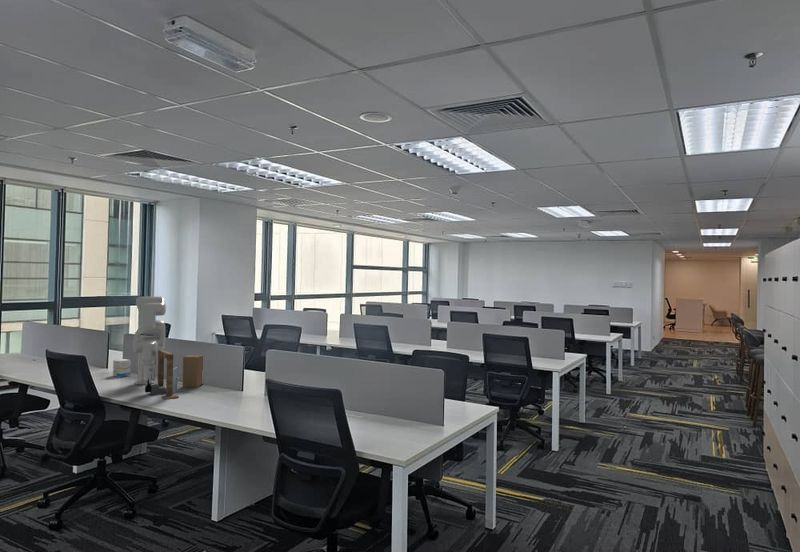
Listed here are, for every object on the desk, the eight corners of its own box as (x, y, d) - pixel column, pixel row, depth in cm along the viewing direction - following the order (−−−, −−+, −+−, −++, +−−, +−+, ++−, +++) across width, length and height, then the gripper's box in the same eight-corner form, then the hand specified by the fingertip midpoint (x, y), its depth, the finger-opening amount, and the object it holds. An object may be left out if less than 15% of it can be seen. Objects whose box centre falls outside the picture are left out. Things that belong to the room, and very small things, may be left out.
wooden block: (203, 384, 364) (204, 355, 364) (196, 387, 354) (197, 357, 354) (189, 384, 365) (190, 354, 365) (182, 386, 355) (182, 356, 355)
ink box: (130, 375, 390) (131, 359, 390) (119, 377, 383) (119, 361, 383) (124, 374, 394) (124, 358, 394) (112, 376, 387) (113, 359, 387)
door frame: (151, 390, 344) (152, 349, 344) (164, 388, 348) (165, 348, 349) (164, 399, 319) (165, 355, 319) (178, 397, 324) (179, 354, 324)
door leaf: (175, 390, 344) (176, 367, 344) (179, 390, 344) (179, 367, 344) (167, 396, 326) (167, 371, 327) (170, 396, 327) (171, 371, 327)
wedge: (150, 392, 336) (150, 384, 336) (170, 391, 342) (170, 383, 342) (151, 394, 331) (151, 386, 331) (172, 392, 337) (172, 384, 337)
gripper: (158, 363, 328) (157, 393, 328) (152, 360, 340) (151, 389, 340) (144, 364, 324) (144, 395, 324) (139, 361, 336) (138, 390, 336)
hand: (148, 392), depth 332 cm, fingers closed
